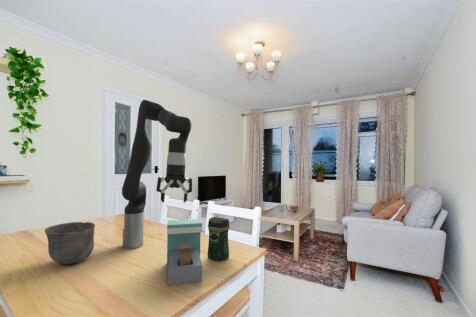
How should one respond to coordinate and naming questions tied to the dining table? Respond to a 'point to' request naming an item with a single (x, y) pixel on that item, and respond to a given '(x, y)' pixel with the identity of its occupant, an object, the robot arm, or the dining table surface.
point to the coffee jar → (218, 239)
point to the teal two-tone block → (183, 234)
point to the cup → (70, 241)
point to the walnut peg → (185, 255)
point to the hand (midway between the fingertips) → (173, 202)
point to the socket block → (184, 269)
